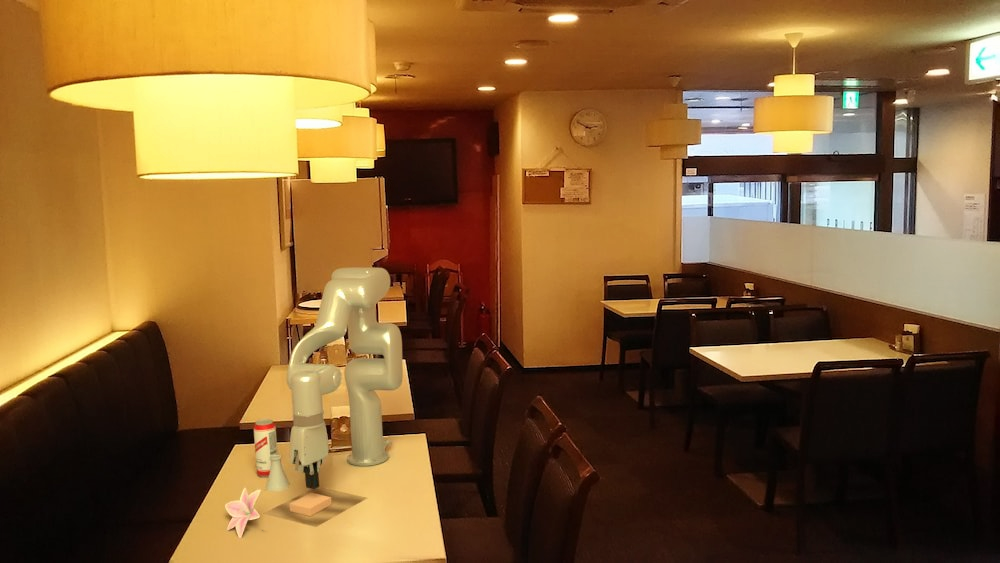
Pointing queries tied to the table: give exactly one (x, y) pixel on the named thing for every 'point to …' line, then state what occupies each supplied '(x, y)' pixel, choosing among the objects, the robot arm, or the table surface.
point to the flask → (276, 475)
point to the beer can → (264, 445)
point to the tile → (310, 504)
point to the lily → (242, 511)
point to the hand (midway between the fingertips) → (312, 487)
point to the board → (338, 506)
